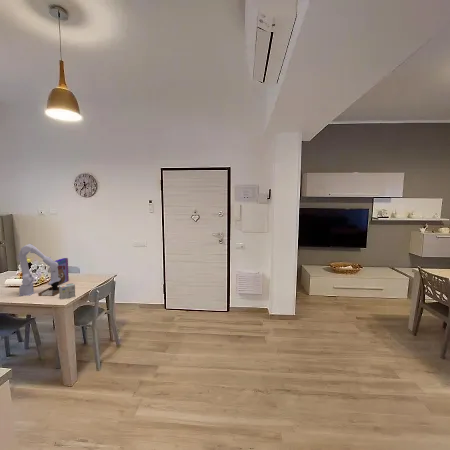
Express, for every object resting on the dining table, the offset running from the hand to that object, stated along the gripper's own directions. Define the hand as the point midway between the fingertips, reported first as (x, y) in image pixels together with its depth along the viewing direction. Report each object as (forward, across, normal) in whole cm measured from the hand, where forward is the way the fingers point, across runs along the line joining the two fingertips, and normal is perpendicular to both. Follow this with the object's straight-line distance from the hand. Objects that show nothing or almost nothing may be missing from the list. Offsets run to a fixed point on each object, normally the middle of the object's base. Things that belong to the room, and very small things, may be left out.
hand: (55, 290), depth 237 cm
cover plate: (+1, -7, 0) cm, 7 cm away
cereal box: (+2, +25, +9) cm, 26 cm away
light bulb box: (+2, -13, -18) cm, 23 cm away
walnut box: (+1, -4, 0) cm, 4 cm away
